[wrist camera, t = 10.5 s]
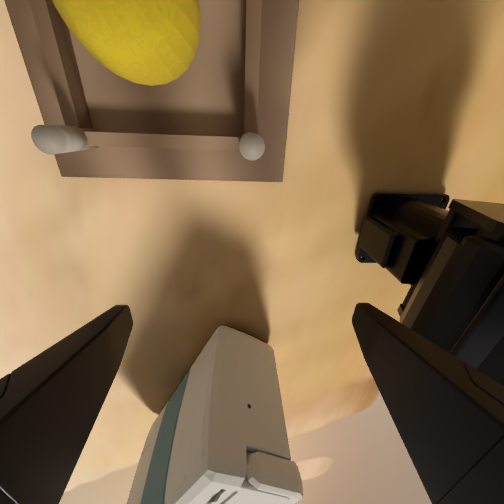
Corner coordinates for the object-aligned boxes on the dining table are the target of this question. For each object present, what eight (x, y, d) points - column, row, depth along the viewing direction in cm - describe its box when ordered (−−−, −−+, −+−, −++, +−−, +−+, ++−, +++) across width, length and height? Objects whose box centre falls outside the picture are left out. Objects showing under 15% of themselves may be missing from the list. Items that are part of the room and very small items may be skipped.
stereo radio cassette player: (217, 313, 25) (166, 762, 7) (282, 338, 27) (364, 728, 10) (150, 416, 33) (48, 751, 15) (205, 429, 35) (171, 735, 17)
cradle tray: (309, -160, 11) (354, -341, 7) (280, 179, 19) (293, 195, 14) (-45, -201, 10) (-251, -442, 6) (70, 174, 18) (15, 189, 13)
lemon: (133, 104, 15) (43, 76, 8) (91, -16, 13) (-95, -214, 5) (218, 86, 15) (204, 42, 8) (192, -39, 12) (137, -271, 5)
